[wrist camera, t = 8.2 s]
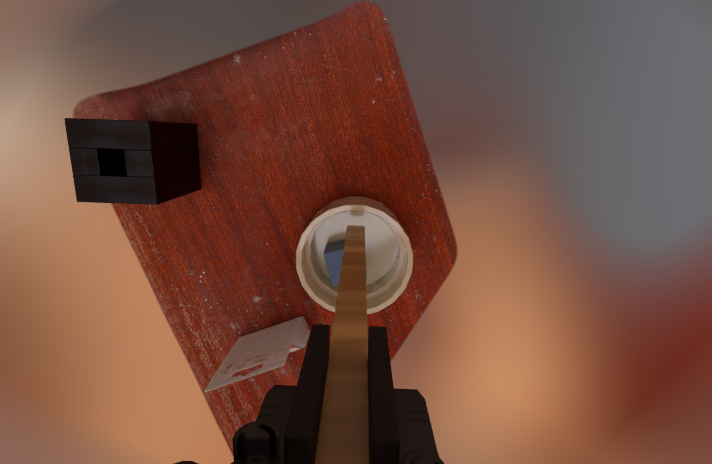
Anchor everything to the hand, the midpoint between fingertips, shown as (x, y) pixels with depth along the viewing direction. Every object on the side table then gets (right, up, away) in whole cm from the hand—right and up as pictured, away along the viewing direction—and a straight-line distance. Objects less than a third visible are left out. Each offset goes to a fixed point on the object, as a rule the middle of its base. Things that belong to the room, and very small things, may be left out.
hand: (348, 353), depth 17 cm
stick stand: (-21, +14, +27) cm, 37 cm away
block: (-1, +3, +29) cm, 29 cm away
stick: (0, +5, +21) cm, 22 cm away
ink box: (-10, -7, +32) cm, 35 cm away
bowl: (0, +4, +29) cm, 29 cm away
